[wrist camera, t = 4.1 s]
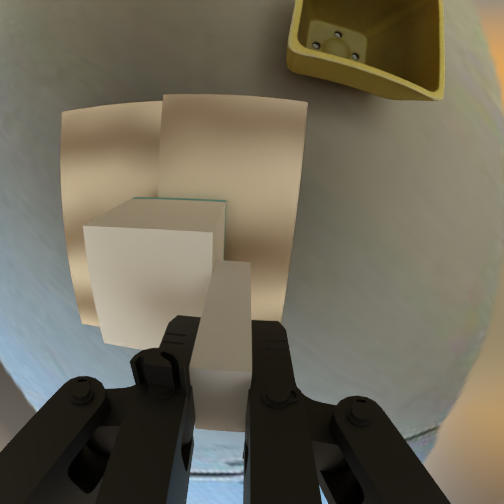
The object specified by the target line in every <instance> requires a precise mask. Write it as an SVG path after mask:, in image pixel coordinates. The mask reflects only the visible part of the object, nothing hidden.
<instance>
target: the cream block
mask: <svg viewBox="0 0 504 504" xmlns="http://www.w3.org/2000/svg"><path fill="white" fill-rule="evenodd" d="M225 221H226V200H210V199H188V198H158V197H134V198H132V199H130V200H128V201H126V202H124V203H122V204H121V205H119V206H117V207H115V208H113V209H111V210H110V211H108V212H106V213H104V214H102V215H101V216H99V217H97V218H95V219H94V220H92V221H90V222H89V223H87V224H85V225H83V232H84V241H85V249H86V256H87V263H88V269H89V275H90V281H91V287H92V292H93V297H94V302H95V307H96V311H97V316H98V320H99V324H100V328H101V332H102V336H103V340H104V343H107V344H112V345H117V346H123V347H129V348H135V349H141V350H146V349H150V348H159V346H160V343H161V342H162V338H163V335H164V334H165V330H166V328H167V325H168V323H169V322H170V321H171V320H172V319H174V318H175V317H176V316H177V315H183V316H193V317H201V316H202V312H203V308H204V304H205V300H206V296H207V292H208V288H209V285H210V281H211V277H212V273H213V269H214V266H215V262H216V260H224V243H225Z"/></svg>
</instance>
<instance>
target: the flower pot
mask: <svg viewBox="0 0 504 504" xmlns="http://www.w3.org/2000/svg"><path fill="white" fill-rule="evenodd" d="M336 32H339V33H340V34H341V37H340V38H338V37H336V36H335V33H336ZM313 43H318V44H319V45H320V47H319V48H318V49H316V48H314V47H313ZM352 54H356V55H357V56H358V59H357V60H355V59H353V57H352ZM286 64H287V67H288V68H289V70H291V71H292V72H294V73H297V74H302V75H307V76H311V77H316V78H320V79H324V80H328V81H332V82H336V83H340V84H343V85H347V86H350V87H353V88H357V89H360V90H363V91H366V92H369V93H371V94H374V95H377V96H380V97H383V98H387V99H392V100H422V101H440V100H442V99H443V96H444V86H445V49H444V10H443V0H295V4H294V10H293V15H292V20H291V26H290V31H289V36H288V42H287V55H286Z"/></svg>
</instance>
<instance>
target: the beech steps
mask: <svg viewBox="0 0 504 504" xmlns="http://www.w3.org/2000/svg"><path fill="white" fill-rule="evenodd" d="M307 105H308V102H302V101H295V100H287V99H279V98H269V97H258V96H244V95H224V94H167V95H163V101H149V102H134V103H123V104H113V105H104V106H96V107H89V108H82V109H76V110H70V111H65V112H62V123H61V156H60V160H61V193H62V208H63V219H64V229H65V237H66V245H67V252H68V259H69V265H70V271H71V276H72V281H73V286H74V291H75V296H76V301H77V305H78V309H79V313H80V317H81V321H82V324H87V325H93V326H98V327H100V324H99V320H98V316H97V311H96V307H95V302H94V297H93V292H92V287H91V281H90V275H89V269H88V263H87V256H86V249H85V241H84V232H83V225H85V224H87V223H89V222H90V221H92V220H94V219H95V218H97V217H99V216H101V215H102V214H104V213H106V212H108V211H110V210H111V209H113V208H115V207H117V206H119V205H121V204H122V203H124V202H126V201H128V200H130V199H132V198H134V197H158V198H188V199H210V200H226V221H225V243H224V260H225V261H240V262H251V320H267V321H279V322H280V323H281V319H282V313H283V306H284V300H285V293H286V287H287V280H288V273H289V266H290V259H291V251H292V244H293V236H294V229H295V221H296V213H297V204H298V196H299V187H300V178H301V169H302V159H303V149H304V139H305V128H306V117H307Z"/></svg>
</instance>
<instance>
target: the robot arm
mask: <svg viewBox="0 0 504 504" xmlns="http://www.w3.org/2000/svg"><path fill="white" fill-rule="evenodd" d="M130 364H131V368H132V372H133V376H134V380H135V383H136V385H134V386H131V387H127V388H116V389H105V388H104V386H103V385H102V383H101V382H100V381H98V380H97V379H96V378H92V377H89V376H79V377H76V378H73V379H70V380H69V381H68V382H66V383H65V384H64V385H63V386H62V387H61V388H60V389H59V390H58V391H57V392H56V393H55V394H54V395H53V396H52V397H51V398H50V399H49V400H48V401H47V402H46V403H45V404H44V405H43V406H42V408H41V409H40V410H39V411H38V412H37V413H36V414H35V415H34V416H33V417H32V418H31V419H30V420H29V421H28V422H27V424H26V425H25V426H24V427H23V428H22V429H21V430H20V431H19V432H18V433H17V434H16V436H15V437H14V438H13V439H12V440H11V441H10V442H9V443H8V444H7V446H6V447H5V448H4V449H3V450H2V451H1V452H0V504H186V499H187V492H188V484H189V476H190V469H191V461H192V454H193V447H194V440H193V430H194V424H195V428H197V429H207V430H218V431H232V432H245V444H244V452H243V459H244V492H243V504H322V501H321V494H320V488H319V485H320V487H321V489H322V492H323V494H324V496H325V498H326V500H327V502H328V504H450V502H449V500H448V499H447V498H446V496H445V495H444V493H443V492H442V491H441V489H440V488H439V486H438V485H437V484H436V482H435V481H434V479H433V478H432V477H431V475H430V474H429V473H428V471H427V470H426V468H425V467H424V466H423V464H422V463H421V461H420V460H419V459H418V457H417V456H416V455H415V453H414V452H413V450H412V449H411V448H410V446H409V445H408V444H407V442H406V441H405V439H404V438H403V437H402V435H401V434H400V433H399V431H398V430H397V428H396V427H395V426H394V424H393V423H392V422H391V420H390V419H389V418H388V416H387V415H386V413H385V412H384V411H383V409H382V408H381V407H380V406H379V405H378V404H377V403H376V402H375V401H373V400H371V399H369V398H367V397H362V396H351V397H347V398H345V399H343V400H341V401H340V402H339V403H338V404H337V405H331V404H326V403H321V402H317V401H314V400H312V399H310V398H308V397H306V396H305V395H304V394H302V393H301V390H300V389H298V388H297V386H296V383H295V378H294V373H293V367H292V361H291V356H290V351H289V344H288V339H287V333H286V329H285V328H284V327H283V326H282V325H281V323H280V322H279V321H267V320H251V262H240V261H225V260H216V262H215V266H214V269H213V273H212V277H211V281H210V285H209V288H208V292H207V296H206V300H205V304H204V308H203V312H202V316H201V317H193V316H183V315H177V316H176V317H175V318H174V319H172V320H171V321H170V322H169V323H168V325H167V328H166V330H165V334H164V335H163V338H162V342H161V343H160V346H159V348H150V349H146V350H142V351H141V352H139V353H137V354H136V355H134V357H133V358H132V359H131V361H130Z"/></svg>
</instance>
